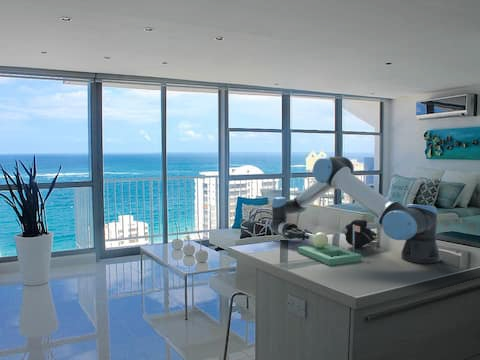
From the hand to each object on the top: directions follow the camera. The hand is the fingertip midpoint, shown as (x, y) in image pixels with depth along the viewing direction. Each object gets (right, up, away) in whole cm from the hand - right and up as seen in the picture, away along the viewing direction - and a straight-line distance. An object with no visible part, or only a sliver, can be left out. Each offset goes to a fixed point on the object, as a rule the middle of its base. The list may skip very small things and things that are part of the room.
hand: (314, 238), depth 190 cm
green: (+5, -7, -9) cm, 12 cm away
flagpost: (+16, -7, -11) cm, 21 cm away
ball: (+2, 0, -3) cm, 4 cm away
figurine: (+22, -6, +9) cm, 25 cm away
